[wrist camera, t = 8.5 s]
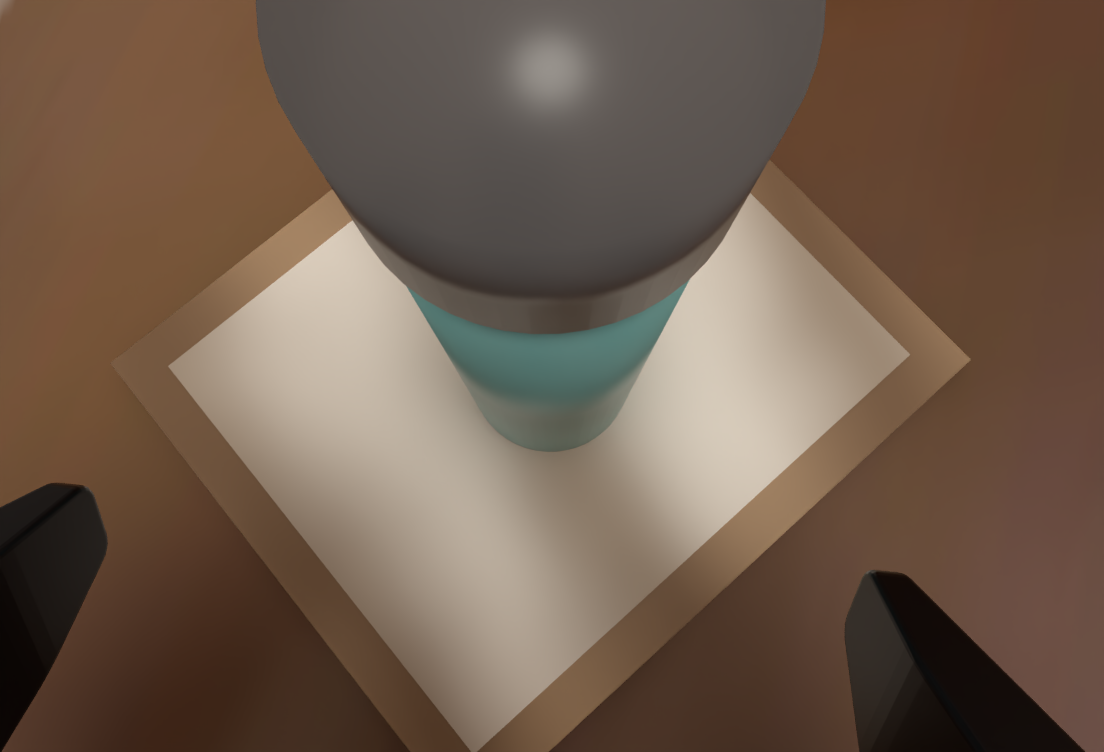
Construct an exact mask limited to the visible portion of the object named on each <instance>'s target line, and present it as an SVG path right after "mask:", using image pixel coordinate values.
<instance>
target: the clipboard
mask: <svg viewBox="0 0 1104 752" xmlns="http://www.w3.org/2000/svg"><path fill="white" fill-rule="evenodd" d="M970 360H971V359H970V358H969V357H968V356H967V355H966V354H965V353H964V352H963V351H962V350H961V349H960V348H959V347H958V346H957V345H956V344H955V343H954V342H952V341H951V340H950V339H949V338H948V337H947V336H946V335H945V334H944V333H943V332H942V331H941V330H940V329H939V328H938V327H937V326H936V325H935V324H934V323H933V322H932V321H931V320H930V319H929V318H928V317H927V316H926V315H925V314H924V313H923V312H922V311H921V310H920V309H919V308H918V307H917V306H916V305H915V304H914V303H913V302H912V301H911V300H910V299H909V298H908V297H907V296H906V295H905V294H904V293H903V292H902V291H901V290H900V289H899V288H898V287H897V286H896V285H895V284H894V283H893V282H892V281H891V280H890V279H889V278H888V277H887V276H886V275H885V274H884V273H883V272H882V271H881V270H880V269H879V268H878V267H877V266H876V265H875V264H874V263H873V262H872V261H871V260H870V259H869V258H868V257H867V256H866V255H865V254H864V253H863V252H862V251H861V250H860V249H859V248H858V247H857V246H856V245H855V244H854V243H853V242H852V241H851V240H850V239H849V238H848V237H847V236H846V235H845V234H844V233H843V232H842V231H841V230H840V229H839V228H838V227H837V226H836V225H835V224H834V223H833V222H832V221H831V220H830V219H829V218H828V217H827V216H826V215H825V214H824V213H823V212H822V211H821V210H820V209H819V208H818V207H817V206H816V205H815V204H814V203H813V202H812V201H811V200H810V199H809V198H808V197H807V196H806V195H805V194H804V193H803V192H802V191H801V190H800V189H799V188H798V187H797V186H796V185H795V184H794V183H793V182H792V181H791V180H790V179H789V178H788V177H787V176H786V175H785V174H784V173H783V172H782V171H781V170H780V169H779V168H778V167H777V166H776V165H775V164H774V163H773V162H772V161H771V160H770V159H769V161H768V162H767V164H766V166H765V168H764V169H763V171H762V173H761V175H760V176H759V178H758V180H757V182H756V183H755V185H754V187H753V189H752V190H751V192H750V194H749V196H748V197H747V199H746V201H745V203H744V204H743V206H742V208H741V210H740V211H739V213H738V215H737V217H736V218H735V220H734V222H733V223H732V225H731V227H730V229H729V230H728V232H727V234H726V236H725V237H724V239H723V241H722V242H721V244H720V245H719V246H718V248H717V249H716V250H715V252H714V253H713V254H712V256H711V257H710V258H709V260H708V261H707V262H706V263H705V264H704V265H703V266H702V267H701V268H700V269H699V270H698V271H697V272H696V273H695V274H694V275H693V276H692V277H691V278H690V280H689V282H688V284H687V286H686V288H685V289H684V291H683V293H682V295H681V297H680V299H679V301H678V303H677V305H676V306H675V308H674V310H673V312H672V314H671V316H670V318H669V320H668V321H667V323H666V325H665V327H664V329H663V331H662V333H661V335H660V336H659V338H658V340H657V342H656V344H655V346H654V348H653V350H652V352H651V353H650V355H649V357H648V359H647V361H646V363H645V365H644V367H643V368H642V370H641V372H640V374H639V376H638V378H637V380H636V382H635V383H634V385H633V387H632V389H631V391H630V393H629V395H628V397H627V399H626V400H625V402H624V404H623V406H622V408H621V410H620V411H619V413H618V415H617V417H616V418H615V419H614V421H613V422H612V423H611V425H610V426H609V427H608V428H607V429H606V430H605V431H604V432H602V433H601V434H600V435H599V436H597V437H596V438H595V439H593V440H591V441H589V442H588V443H586V444H584V445H581V446H579V447H576V448H573V449H569V450H564V451H557V452H544V451H536V450H532V449H528V448H524V447H522V446H520V445H517V444H515V443H513V442H511V441H510V440H508V439H506V438H505V437H504V436H502V435H501V434H500V433H498V432H497V431H496V430H495V429H494V428H493V427H492V426H491V425H490V423H489V422H488V421H487V420H486V418H485V417H484V415H483V414H482V412H481V410H480V409H479V407H478V405H477V404H476V402H475V400H474V399H473V397H472V395H471V394H470V392H469V390H468V389H467V387H466V385H465V384H464V382H463V380H462V379H461V377H460V375H459V374H458V372H457V370H456V369H455V367H454V365H453V364H452V362H451V360H450V358H449V357H448V355H447V353H446V352H445V350H444V348H443V347H442V345H441V343H440V342H439V340H438V338H437V337H436V335H435V333H434V332H433V330H432V328H431V327H430V325H429V323H428V322H427V320H426V318H425V317H424V315H423V313H422V312H421V310H420V308H419V307H418V305H417V303H416V302H415V300H414V298H413V297H412V295H411V293H410V292H409V290H408V288H407V287H406V285H404V284H403V283H402V282H401V281H400V280H399V279H398V278H397V277H396V276H395V275H394V274H393V273H392V272H391V271H390V270H389V269H388V268H387V267H386V266H385V265H384V264H383V263H382V262H381V260H380V259H379V258H378V256H377V255H376V254H375V253H374V251H373V250H372V249H371V247H370V246H369V245H368V243H367V242H366V240H365V239H364V237H363V236H362V234H361V233H360V231H359V230H358V228H357V226H356V225H355V223H354V222H353V220H352V219H351V217H350V216H349V214H348V212H347V211H346V209H345V208H344V206H343V205H342V203H341V202H340V200H339V198H338V197H337V195H336V194H335V192H334V191H333V189H332V190H331V191H329V192H328V193H327V194H326V195H324V196H323V197H322V198H320V199H319V200H318V201H317V202H315V203H314V204H313V205H312V206H310V207H309V208H308V209H306V210H305V211H304V212H303V213H301V214H300V215H299V216H297V217H296V218H295V219H294V220H292V221H291V222H290V223H289V224H287V225H286V226H285V227H283V228H282V229H281V230H280V231H278V232H277V233H276V234H274V235H273V236H272V237H271V238H269V239H268V240H267V241H266V242H264V243H263V244H262V245H260V246H259V247H258V248H257V249H255V250H254V251H253V252H251V253H250V254H249V255H248V256H246V257H245V258H244V259H243V260H241V261H240V262H239V263H237V264H236V265H235V266H234V267H232V268H231V269H230V270H228V271H227V272H226V273H225V274H223V275H222V276H221V277H220V278H218V279H217V280H216V281H214V282H213V283H212V284H211V285H209V286H208V287H207V288H205V289H204V290H203V291H202V292H200V293H199V294H198V295H197V296H195V297H194V298H193V299H191V300H190V301H189V302H188V303H186V304H185V305H184V306H182V307H181V308H180V309H179V310H177V311H176V312H175V313H174V314H172V315H171V316H170V317H168V318H167V319H166V320H165V321H163V322H162V323H161V324H159V325H158V326H157V327H156V328H154V329H153V330H152V331H151V332H149V333H148V334H147V335H145V336H144V337H143V338H142V339H140V340H139V341H138V342H136V343H135V344H134V345H133V346H131V347H130V348H129V349H128V350H126V351H125V352H124V353H122V354H121V355H120V356H119V357H117V358H116V359H115V360H113V361H112V362H111V363H110V364H111V365H112V366H113V368H114V369H115V370H116V371H117V373H118V374H119V375H120V377H121V378H122V379H123V381H124V382H125V383H126V384H127V386H128V387H129V388H130V390H131V391H132V392H133V393H134V395H135V396H136V397H137V399H138V400H139V401H140V403H141V404H142V405H143V406H144V408H145V409H146V410H147V412H148V413H149V414H150V416H151V417H152V418H153V419H154V421H155V422H156V423H157V425H158V426H159V427H160V428H161V430H162V431H163V432H164V434H165V435H166V436H167V438H168V439H169V440H170V441H171V443H172V444H173V445H174V447H175V448H176V449H177V450H178V452H179V453H180V454H181V456H182V457H183V458H184V460H185V461H186V462H187V463H188V465H189V466H190V467H191V469H192V470H193V471H194V473H195V474H196V475H197V476H198V478H199V479H200V480H201V482H202V483H203V484H204V485H205V487H206V488H207V489H208V491H209V492H210V493H211V495H212V496H213V497H214V498H215V500H216V501H217V502H218V504H219V505H220V506H221V507H222V509H223V510H224V511H225V513H226V514H227V515H228V517H229V518H230V519H231V520H232V522H233V523H234V524H235V526H236V527H237V528H238V530H239V531H240V532H241V533H242V535H243V536H244V537H245V539H246V540H247V541H248V542H249V544H250V545H251V546H252V548H253V549H254V550H255V552H256V553H257V554H258V555H259V557H260V558H261V559H262V561H263V562H264V563H265V564H266V566H267V567H268V568H269V570H270V571H271V572H272V574H273V575H274V576H275V577H276V579H277V580H278V581H279V583H280V584H281V585H282V587H283V588H284V589H285V590H286V592H287V593H288V594H289V596H290V597H291V598H292V599H293V601H294V602H295V603H296V605H297V606H298V607H299V609H300V610H301V611H302V612H303V614H304V615H305V616H306V618H307V619H308V620H309V621H310V623H311V624H312V625H313V627H314V628H315V629H316V631H317V632H318V633H319V634H320V636H321V637H322V638H323V640H324V641H325V642H326V644H327V645H328V646H329V647H330V649H331V650H332V651H333V653H334V654H335V655H336V656H337V658H338V659H339V660H340V662H341V663H342V664H343V666H344V667H345V668H346V669H347V671H348V672H349V673H350V675H351V676H352V677H353V678H354V680H355V681H356V682H357V684H358V685H359V686H360V688H361V689H362V690H363V691H364V693H365V694H366V695H367V697H368V698H369V699H370V701H371V702H372V703H373V704H374V706H375V707H376V708H377V710H378V711H379V712H380V713H381V715H382V716H383V717H384V719H385V720H386V721H387V723H388V724H389V725H390V726H391V728H392V729H393V730H394V732H395V733H396V734H397V735H398V737H399V738H400V739H401V741H402V742H403V743H404V745H405V746H406V747H407V748H408V750H409V751H410V752H549V751H550V750H551V749H552V748H553V747H554V746H556V745H557V744H558V743H559V742H560V741H561V740H562V739H563V738H564V737H565V736H566V735H567V734H568V733H570V732H571V731H572V730H573V729H574V728H575V727H576V726H577V725H578V724H579V723H580V722H581V721H582V720H584V719H585V718H586V717H587V716H588V715H589V714H590V713H591V712H592V711H593V710H594V709H595V708H596V707H598V706H599V705H600V704H601V703H602V702H603V701H604V700H605V699H606V698H607V697H608V696H609V695H610V694H612V693H613V692H614V691H615V690H616V689H617V688H618V687H619V686H620V685H621V684H622V683H623V682H624V681H626V680H627V679H628V678H629V677H630V676H631V675H632V674H633V673H634V672H635V671H636V670H637V669H638V668H640V667H641V666H642V665H643V664H644V663H645V662H646V661H647V660H648V659H649V658H650V657H651V656H652V655H653V654H655V653H656V652H657V651H658V650H659V649H660V648H661V647H662V646H663V645H664V644H665V643H666V642H667V641H669V640H670V639H671V638H672V637H673V636H674V635H675V634H676V633H677V632H678V631H679V630H680V629H681V628H683V627H684V626H685V625H686V624H687V623H688V622H689V621H690V620H691V619H692V618H693V617H694V616H695V615H697V614H698V613H699V612H700V611H701V610H702V609H703V608H704V607H705V606H706V605H707V604H708V603H709V602H711V601H712V600H713V599H714V598H715V597H716V596H717V595H718V594H719V593H720V592H721V591H722V590H723V589H725V588H726V587H727V586H728V585H729V584H730V583H731V582H732V581H733V580H734V579H735V578H736V577H737V576H739V575H740V574H741V573H742V572H743V571H744V570H745V569H746V568H747V567H748V566H749V565H750V564H751V563H752V562H754V561H755V560H756V559H757V558H758V557H759V556H760V555H761V554H762V553H763V552H764V551H765V550H766V549H768V548H769V547H770V546H771V545H772V544H773V543H774V542H775V541H776V540H777V539H778V538H779V537H780V536H782V535H783V534H784V533H785V532H786V531H787V530H788V529H789V528H790V527H791V526H792V525H793V524H794V523H796V522H797V521H798V520H799V519H800V518H801V517H802V516H803V515H804V514H805V513H806V512H807V511H808V510H810V509H811V508H812V507H813V506H814V505H815V504H816V503H817V502H818V501H819V500H820V499H821V498H822V497H824V496H825V495H826V494H827V493H828V492H829V491H830V490H831V489H832V488H833V487H834V486H835V485H836V484H838V483H839V482H840V481H841V480H842V479H843V478H844V477H845V476H846V475H847V474H848V473H849V472H850V471H851V470H853V469H854V468H855V467H856V466H857V465H858V464H859V463H860V462H861V461H862V460H863V459H864V458H865V457H867V456H868V455H869V454H870V453H871V452H872V451H873V450H874V449H875V448H876V447H877V446H878V445H879V444H881V443H882V442H883V441H884V440H885V439H886V438H887V437H888V436H889V435H890V434H891V433H892V432H893V431H895V430H896V429H897V428H898V427H899V426H900V425H901V424H902V423H903V422H904V421H905V420H906V419H907V418H909V417H910V416H911V415H912V414H913V413H914V412H915V411H916V410H917V409H918V408H919V407H920V406H921V405H923V404H924V403H925V402H926V401H927V400H928V399H929V398H930V397H931V396H932V395H933V394H934V393H935V392H937V391H938V390H939V389H940V388H941V387H942V386H943V385H944V384H945V383H946V382H947V381H948V380H949V379H950V378H952V377H953V376H954V375H955V374H956V373H957V372H958V371H959V370H960V369H961V368H962V367H963V366H964V365H966V364H967V363H968V362H969V361H970Z"/></svg>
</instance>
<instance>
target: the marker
mask: <svg viewBox="0 0 1104 752" xmlns="http://www.w3.org/2000/svg"><path fill="white" fill-rule="evenodd" d="M825 4H826V0H256V12H257V25H258V37H259V42H260V46H261V50H262V55H263V59H264V64H265V68H266V71H267V74H268V76H269V79H270V82H271V84H272V87H273V89H274V92H275V94H276V97H277V99H278V102H279V104H280V105H281V107H282V109H283V111H284V112H285V114H286V116H287V118H288V119H289V121H290V123H291V125H292V126H293V128H294V130H295V132H296V133H297V135H298V136H299V138H300V139H301V141H302V143H303V144H304V146H305V147H306V149H307V150H308V152H309V153H310V155H311V157H312V158H313V160H314V161H315V163H316V164H317V166H318V167H319V169H320V170H321V172H322V174H323V175H324V177H325V178H326V180H327V181H328V183H329V184H330V186H331V188H332V189H333V191H334V192H335V194H336V195H337V197H338V198H339V200H340V202H341V203H342V205H343V206H344V208H345V209H346V211H347V212H348V214H349V216H350V217H351V219H352V220H353V222H354V223H355V225H356V226H357V228H358V230H359V231H360V233H361V234H362V236H363V237H364V239H365V240H366V242H367V243H368V245H369V246H370V247H371V249H372V250H373V251H374V253H375V254H376V255H377V256H378V258H379V259H380V260H381V262H382V263H383V264H384V265H385V266H386V267H387V268H388V269H389V270H390V271H391V272H392V273H393V274H394V275H395V276H396V277H397V278H398V279H399V280H400V281H401V282H402V283H403V284H404V285H406V287H407V288H408V290H409V292H410V293H411V295H412V297H413V298H414V300H415V302H416V303H417V305H418V307H419V308H420V310H421V312H422V313H423V315H424V317H425V318H426V320H427V322H428V323H429V325H430V327H431V328H432V330H433V332H434V333H435V335H436V337H437V338H438V340H439V342H440V343H441V345H442V347H443V348H444V350H445V352H446V353H447V355H448V357H449V358H450V360H451V362H452V364H453V365H454V367H455V369H456V370H457V372H458V374H459V375H460V377H461V379H462V380H463V382H464V384H465V385H466V387H467V389H468V390H469V392H470V394H471V395H472V397H473V399H474V400H475V402H476V404H477V405H478V407H479V409H480V410H481V412H482V414H483V415H484V417H485V418H486V420H487V421H488V422H489V423H490V425H491V426H492V427H493V428H494V429H495V430H496V431H497V432H498V433H500V434H501V435H502V436H504V437H505V438H506V439H508V440H510V441H511V442H513V443H515V444H517V445H520V446H522V447H524V448H528V449H532V450H536V451H544V452H557V451H564V450H569V449H573V448H576V447H579V446H581V445H584V444H586V443H588V442H589V441H591V440H593V439H595V438H596V437H597V436H599V435H600V434H601V433H602V432H604V431H605V430H606V429H607V428H608V427H609V426H610V425H611V423H612V422H613V421H614V419H615V418H616V417H617V415H618V413H619V411H620V410H621V408H622V406H623V404H624V402H625V400H626V399H627V397H628V395H629V393H630V391H631V389H632V387H633V385H634V383H635V382H636V380H637V378H638V376H639V374H640V372H641V370H642V368H643V367H644V365H645V363H646V361H647V359H648V357H649V355H650V353H651V352H652V350H653V348H654V346H655V344H656V342H657V340H658V338H659V336H660V335H661V333H662V331H663V329H664V327H665V325H666V323H667V321H668V320H669V318H670V316H671V314H672V312H673V310H674V308H675V306H676V305H677V303H678V301H679V299H680V297H681V295H682V293H683V291H684V289H685V288H686V286H687V284H688V282H689V280H690V278H691V277H692V276H693V275H694V274H695V273H696V272H697V271H698V270H699V269H700V268H701V267H702V266H703V265H704V264H705V263H706V262H707V261H708V260H709V258H710V257H711V256H712V254H713V253H714V252H715V250H716V249H717V248H718V246H719V245H720V244H721V242H722V241H723V239H724V237H725V236H726V234H727V232H728V230H729V229H730V227H731V225H732V223H733V222H734V220H735V218H736V217H737V215H738V213H739V211H740V210H741V208H742V206H743V204H744V203H745V201H746V199H747V197H748V196H749V194H750V192H751V190H752V189H753V187H754V185H755V183H756V182H757V180H758V178H759V176H760V175H761V173H762V171H763V169H764V168H765V166H766V164H767V162H768V161H769V159H770V157H771V155H772V154H773V152H774V150H775V149H776V147H777V145H778V143H779V142H780V140H781V138H782V136H783V135H784V133H785V131H786V129H787V128H788V126H789V124H790V122H791V120H792V119H793V117H794V115H795V113H796V111H797V109H798V108H799V106H800V104H801V102H802V100H803V99H804V97H805V94H806V92H807V89H808V86H809V84H810V81H811V78H812V76H813V73H814V70H815V68H816V65H817V61H818V56H819V51H820V47H821V42H822V37H823V33H824V20H825Z"/></svg>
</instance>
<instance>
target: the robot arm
mask: <svg viewBox="0 0 1104 752" xmlns="http://www.w3.org/2000/svg"><path fill="white" fill-rule="evenodd" d="M107 544H108V542H107V534H106V530H105V527H104V524H103V521H102V518H101V515H100V512H99V509H98V506H97V503H96V500H95V497H94V494H93V492H92V491H91V490H90V489H89V488H88V487H85V486H83V485H75V484H65V483H50V484H47V485H45V486H42V487H40V488H38V489H36V490H34V491H32V492H30V493H28V494H26V495H24V496H22V497H20V498H18V499H16V500H14V501H12V502H10V503H8V504H6V505H4V506H2V507H0V752H1V751H2V750H3V748H4V746H5V745H6V743H7V742H8V740H9V738H10V737H11V735H12V733H13V732H14V730H15V728H16V727H17V725H18V723H19V722H20V720H21V719H22V717H23V715H24V714H25V712H26V710H27V709H28V707H29V705H30V704H31V702H32V701H33V699H34V697H35V696H36V694H37V692H38V690H39V689H40V687H41V685H42V683H43V682H44V680H45V678H46V677H47V675H48V673H49V671H50V669H51V667H52V665H53V663H54V661H55V659H56V658H57V656H58V654H59V652H60V649H61V647H62V645H63V643H64V641H65V639H66V637H67V635H68V633H69V631H70V629H71V626H72V624H73V622H74V620H75V618H76V616H77V614H78V612H79V610H80V608H81V606H82V603H83V601H84V599H85V597H86V595H87V593H88V591H89V589H90V587H91V585H92V583H93V580H94V578H95V576H96V574H97V572H98V570H99V568H100V566H101V564H102V562H103V560H104V557H105V554H106V551H107ZM845 644H846V652H847V659H848V667H849V675H850V683H851V691H852V698H853V706H854V714H855V722H856V730H857V737H858V745H859V752H1085V751H1084V750H1083V749H1082V748H1081V747H1080V746H1079V745H1078V744H1077V743H1076V742H1075V741H1074V740H1073V739H1072V738H1071V737H1070V736H1069V735H1068V734H1067V733H1066V732H1065V731H1064V730H1063V729H1062V728H1061V727H1060V726H1059V725H1058V724H1057V723H1056V722H1055V721H1054V720H1053V719H1052V718H1051V717H1050V716H1049V715H1048V714H1047V713H1046V712H1045V711H1044V710H1043V709H1042V708H1041V707H1040V706H1039V705H1038V704H1037V703H1036V702H1035V701H1034V700H1033V699H1032V698H1031V697H1029V696H1028V695H1027V694H1026V693H1025V692H1024V691H1023V690H1022V689H1021V688H1020V687H1019V686H1018V685H1017V684H1016V683H1015V682H1014V681H1013V680H1012V679H1011V678H1010V677H1009V676H1008V675H1007V674H1006V673H1005V672H1004V671H1003V670H1002V669H1001V668H1000V667H999V666H998V665H997V664H996V663H995V662H994V661H993V660H992V659H991V658H990V657H989V656H988V655H987V654H986V653H985V652H984V651H983V650H982V649H981V648H980V647H979V646H978V645H977V644H976V643H975V642H974V641H973V640H972V639H971V638H970V637H969V636H968V635H967V634H966V633H965V632H964V631H963V630H962V629H961V628H960V627H959V626H958V625H957V624H956V623H955V622H954V621H953V620H952V619H951V618H950V617H949V616H948V615H947V614H946V613H945V612H944V611H943V610H942V609H941V608H940V607H939V606H938V605H937V604H936V603H935V602H934V601H933V600H932V599H931V598H930V597H929V596H928V595H927V594H926V593H925V592H924V591H923V590H922V589H921V588H920V587H919V586H918V585H917V584H916V583H915V582H914V581H913V580H912V579H910V578H909V577H908V576H906V575H905V574H902V573H898V572H889V571H880V570H870V571H868V572H866V573H865V574H864V576H863V578H862V579H861V582H860V584H859V587H858V589H857V592H856V595H855V597H854V600H853V602H852V605H851V607H850V610H849V612H848V615H847V618H846V622H845Z"/></svg>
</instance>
